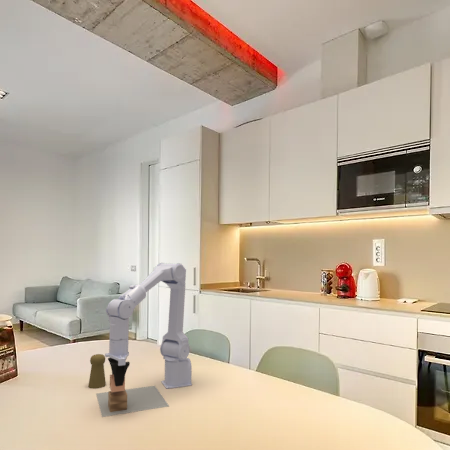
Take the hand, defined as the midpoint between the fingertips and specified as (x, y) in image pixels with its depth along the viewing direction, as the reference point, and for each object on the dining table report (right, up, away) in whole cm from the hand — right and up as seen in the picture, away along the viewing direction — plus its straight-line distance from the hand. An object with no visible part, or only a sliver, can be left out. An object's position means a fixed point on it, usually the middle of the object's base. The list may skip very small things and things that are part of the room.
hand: (118, 383), depth 118 cm
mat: (+3, -8, +6) cm, 10 cm away
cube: (0, -2, 0) cm, 2 cm away
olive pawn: (-13, -9, +19) cm, 25 cm away
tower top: (0, -5, 0) cm, 5 cm away
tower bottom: (0, -7, 0) cm, 7 cm away
